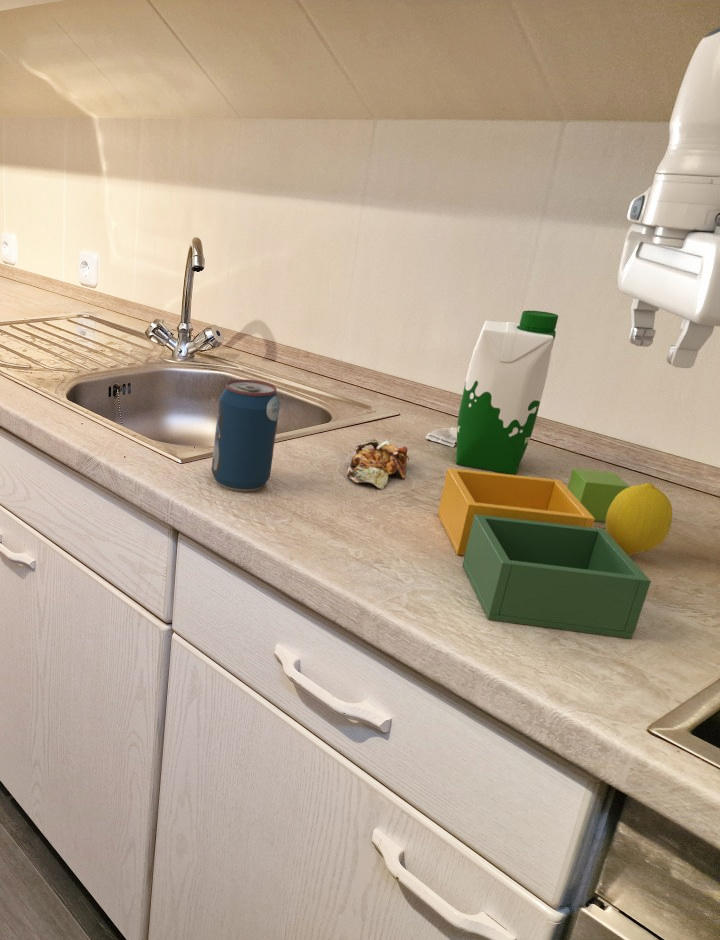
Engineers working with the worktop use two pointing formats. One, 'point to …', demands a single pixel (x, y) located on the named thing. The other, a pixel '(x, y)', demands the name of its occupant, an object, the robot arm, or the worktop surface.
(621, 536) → the lemon
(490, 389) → the milk carton
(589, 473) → the green block
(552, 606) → the green bin
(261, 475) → the soda can
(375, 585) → the worktop surface
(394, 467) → the pastry
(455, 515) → the ochre bin
